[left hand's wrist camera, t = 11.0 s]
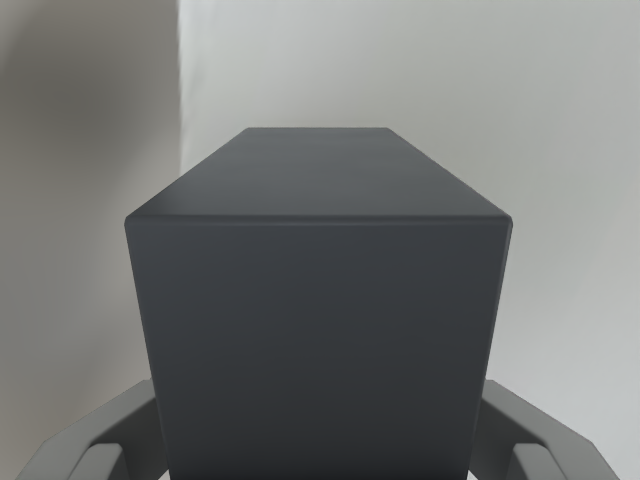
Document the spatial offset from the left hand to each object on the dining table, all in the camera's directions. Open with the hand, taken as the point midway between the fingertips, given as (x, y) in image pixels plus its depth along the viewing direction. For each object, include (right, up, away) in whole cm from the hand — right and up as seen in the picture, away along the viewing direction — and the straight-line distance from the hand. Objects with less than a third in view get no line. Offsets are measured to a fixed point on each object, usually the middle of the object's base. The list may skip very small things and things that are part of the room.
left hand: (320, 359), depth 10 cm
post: (0, -18, +11) cm, 21 cm away
